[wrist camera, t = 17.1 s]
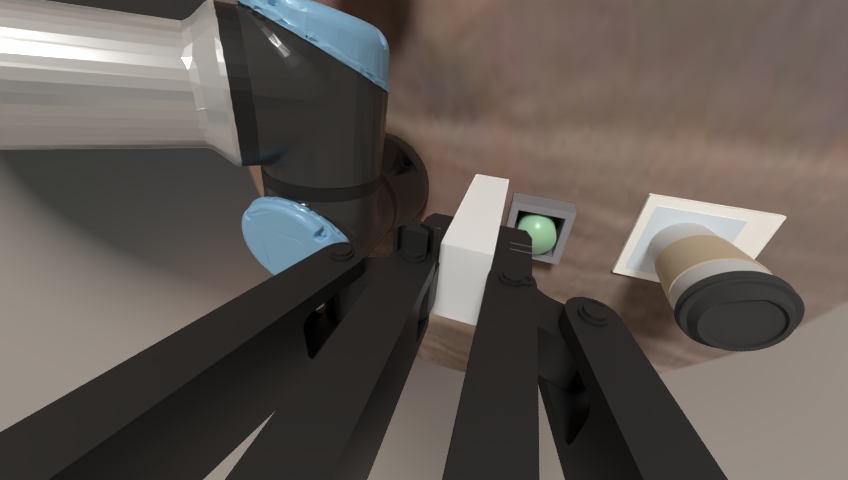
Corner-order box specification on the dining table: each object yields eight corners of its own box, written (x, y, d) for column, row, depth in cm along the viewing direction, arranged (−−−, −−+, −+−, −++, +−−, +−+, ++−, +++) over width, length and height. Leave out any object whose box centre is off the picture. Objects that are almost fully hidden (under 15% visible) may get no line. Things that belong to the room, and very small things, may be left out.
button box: (502, 240, 48) (500, 252, 45) (514, 192, 44) (512, 201, 41) (556, 251, 46) (557, 264, 43) (573, 203, 42) (576, 213, 39)
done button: (514, 236, 46) (512, 249, 43) (522, 205, 44) (521, 217, 40) (548, 243, 45) (550, 257, 42) (559, 212, 43) (561, 225, 39)
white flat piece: (611, 269, 45) (612, 272, 44) (648, 193, 39) (650, 195, 38) (723, 294, 42) (726, 297, 41) (783, 215, 36) (787, 217, 35)
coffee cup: (726, 269, 40) (814, 363, 27) (642, 279, 43) (686, 365, 31) (725, 206, 36) (826, 280, 24) (635, 222, 40) (681, 294, 28)
